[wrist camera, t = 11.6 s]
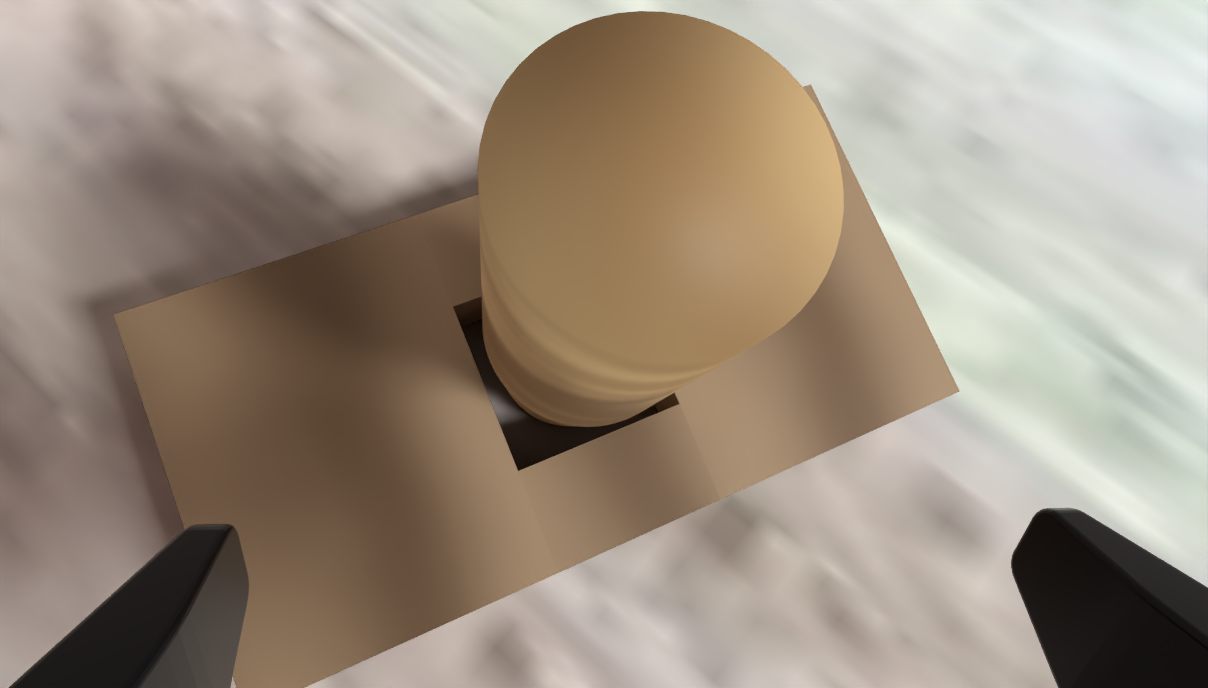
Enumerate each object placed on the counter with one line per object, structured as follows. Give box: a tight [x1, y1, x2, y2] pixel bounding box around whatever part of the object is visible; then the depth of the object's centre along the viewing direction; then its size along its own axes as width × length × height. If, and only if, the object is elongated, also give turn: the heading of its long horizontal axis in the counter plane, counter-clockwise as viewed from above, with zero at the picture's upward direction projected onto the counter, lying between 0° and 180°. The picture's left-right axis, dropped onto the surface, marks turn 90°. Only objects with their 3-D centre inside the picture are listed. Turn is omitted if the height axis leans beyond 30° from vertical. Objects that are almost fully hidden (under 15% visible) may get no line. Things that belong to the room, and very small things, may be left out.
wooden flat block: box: [114, 85, 959, 688], centre depth 21 cm, size 20×10×2 cm, turn 113°
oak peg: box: [478, 11, 844, 427], centre depth 16 cm, size 4×4×14 cm
